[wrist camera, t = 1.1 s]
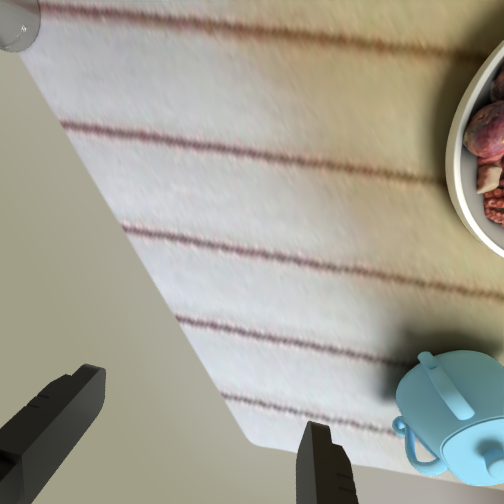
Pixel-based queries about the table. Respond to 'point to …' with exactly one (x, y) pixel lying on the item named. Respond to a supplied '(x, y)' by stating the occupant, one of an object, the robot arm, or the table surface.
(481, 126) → the bowl
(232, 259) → the table surface
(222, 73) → the table surface
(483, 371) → the decorative pot
